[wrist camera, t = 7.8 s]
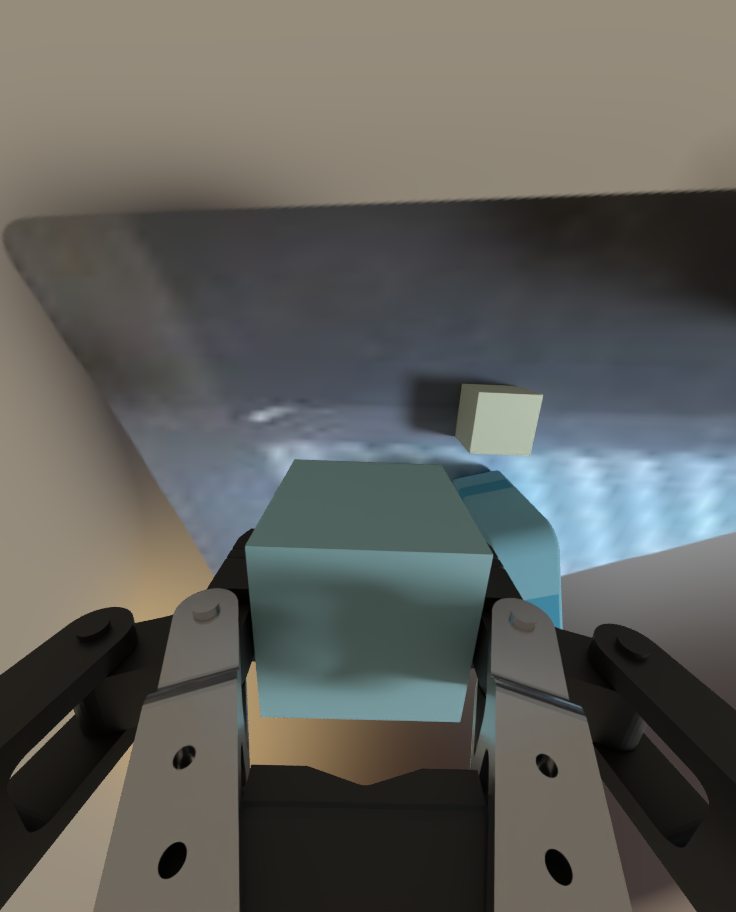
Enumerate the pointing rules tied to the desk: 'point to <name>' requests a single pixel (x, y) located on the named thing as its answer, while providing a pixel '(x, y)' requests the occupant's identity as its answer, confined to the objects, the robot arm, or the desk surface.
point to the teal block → (365, 593)
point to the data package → (516, 538)
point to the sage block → (497, 419)
